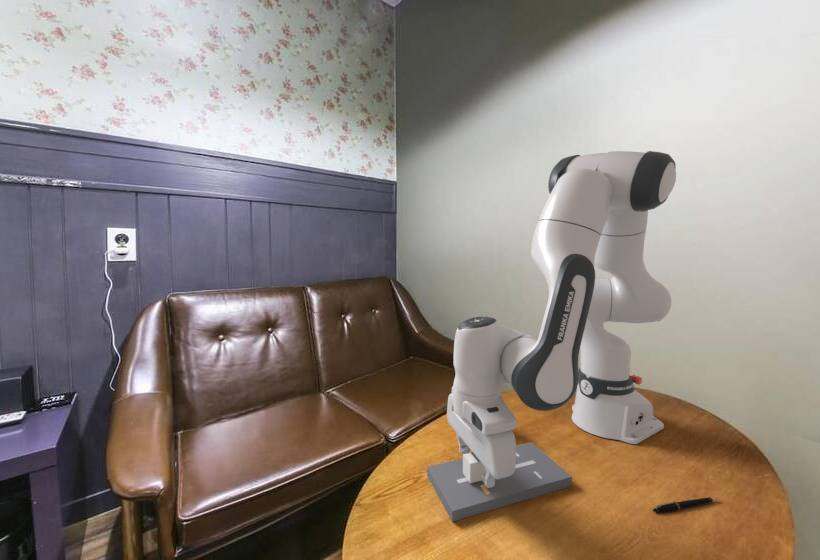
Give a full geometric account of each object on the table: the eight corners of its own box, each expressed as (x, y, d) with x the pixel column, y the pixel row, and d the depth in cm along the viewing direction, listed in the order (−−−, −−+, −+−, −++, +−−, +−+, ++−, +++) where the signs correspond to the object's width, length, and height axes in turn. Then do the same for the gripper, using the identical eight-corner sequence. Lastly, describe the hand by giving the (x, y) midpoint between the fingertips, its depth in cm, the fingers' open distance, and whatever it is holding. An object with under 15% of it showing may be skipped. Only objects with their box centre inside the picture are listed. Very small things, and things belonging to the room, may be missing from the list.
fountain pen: (714, 499, 60) (715, 491, 60) (721, 504, 59) (722, 496, 59) (649, 511, 58) (650, 503, 57) (655, 516, 56) (656, 508, 56)
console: (531, 450, 75) (531, 441, 75) (571, 486, 64) (571, 476, 63) (427, 475, 67) (427, 466, 67) (452, 521, 56) (452, 510, 55)
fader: (480, 468, 65) (480, 449, 65) (488, 478, 63) (488, 459, 62) (462, 473, 64) (462, 454, 64) (470, 483, 61) (470, 463, 61)
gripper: (439, 382, 71) (440, 441, 72) (490, 432, 51) (489, 511, 53) (465, 378, 73) (465, 436, 74) (523, 425, 53) (521, 502, 55)
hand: (475, 468), depth 63 cm, fingers open, 8 cm apart
